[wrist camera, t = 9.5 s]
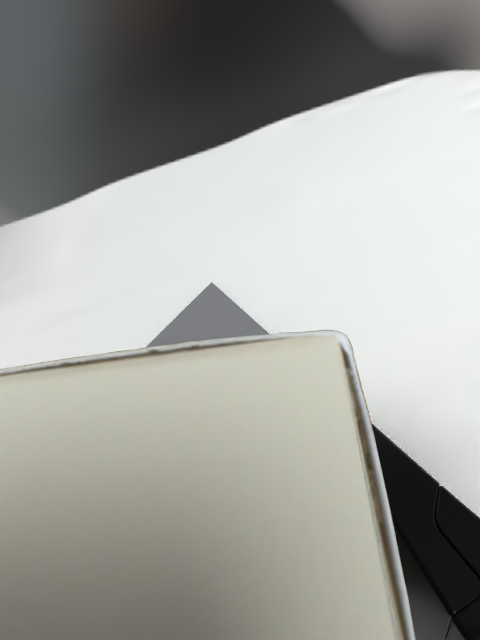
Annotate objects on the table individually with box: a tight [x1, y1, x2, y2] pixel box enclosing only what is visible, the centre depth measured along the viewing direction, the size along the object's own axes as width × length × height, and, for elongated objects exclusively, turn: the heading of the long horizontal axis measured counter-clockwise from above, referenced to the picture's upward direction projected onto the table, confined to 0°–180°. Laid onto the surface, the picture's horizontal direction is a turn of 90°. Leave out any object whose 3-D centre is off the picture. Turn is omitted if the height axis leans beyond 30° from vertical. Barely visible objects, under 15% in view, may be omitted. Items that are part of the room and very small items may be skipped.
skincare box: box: [0, 330, 416, 640], centre depth 9 cm, size 6×4×12 cm
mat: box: [147, 282, 269, 347], centre depth 16 cm, size 14×10×1 cm
